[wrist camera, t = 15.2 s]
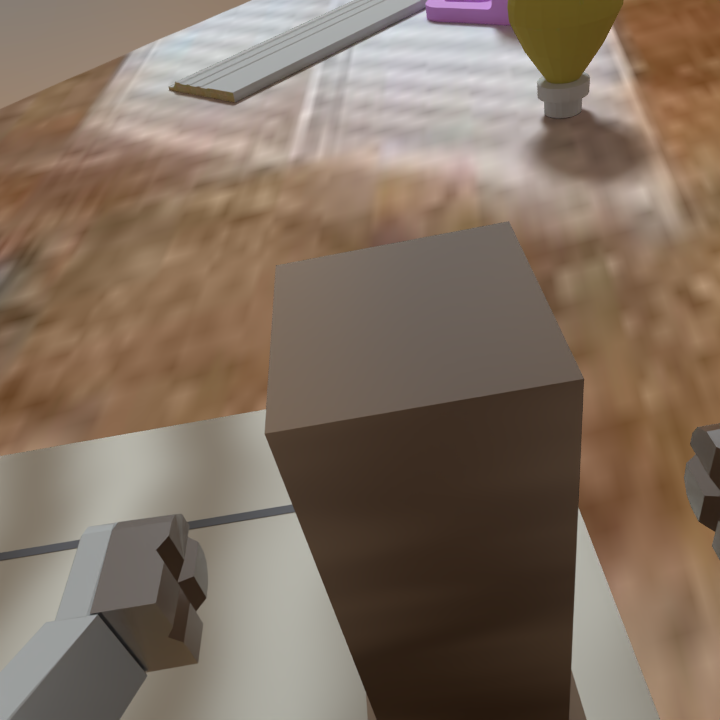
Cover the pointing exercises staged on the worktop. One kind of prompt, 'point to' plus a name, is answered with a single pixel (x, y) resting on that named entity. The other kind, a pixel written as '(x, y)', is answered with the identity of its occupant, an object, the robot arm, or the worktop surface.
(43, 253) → the worktop surface
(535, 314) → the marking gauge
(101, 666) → the robot arm
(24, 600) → the birch board
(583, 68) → the light bulb
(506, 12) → the bracket
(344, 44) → the baseboard molding
